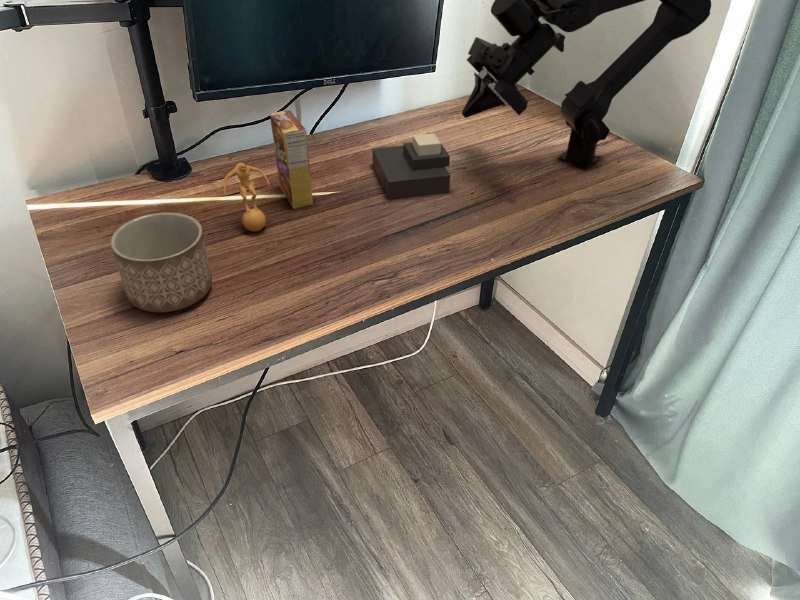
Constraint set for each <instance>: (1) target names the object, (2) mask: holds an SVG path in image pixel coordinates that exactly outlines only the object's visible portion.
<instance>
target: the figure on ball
mask: <svg viewBox="0 0 800 600" xmlns="http://www.w3.org/2000/svg"><path fill="white" fill-rule="evenodd" d="M251 172H258V173H259V174H260V175H261V177H262V178H263V179H264V180H266V183H267V184H268V186H269V187H270V186H271V183H270V179H268V177H267V176H266V175H265V174H264V173H263V171H262V170H261V168H258V167H255V166H252V165H246V163H243V162H238V163H236V165H235V166H234V168H233V169H232V170H231V171H230V172H229V173H228V174H226V175H225V176H224V179H223V191H222V195H223V197H225V198H227V195H228V193H227V191H226V190H227V187H228V179H230V178H232V177H233V176H235V175H236V177H237V178H238V180H239V181H240V183H239V184H238V185H237V188H238V191H239V194H240V196H241V198H242V202H243V204H244V207H245V212H244V213H243V215H242V219H241V220H242V225H243V227H244V228H245V229H246V230H248V231H250V232H259V231H261V230H262V229H263V228H264V227H265V226H266V222H267V219H266V216H265V213H264V212H263V211H262V210H260V209H259V208H258V206H257V204H256V201H255V200H256V198H257V195H258V194H257V191H256V188H255V186H254V185H255V184H254V182H253V181H252V180H251V181H249V180H250V175H251ZM247 190H248V191H247ZM248 192H249V193H250V194H252V195H251V197H250V198H251V203H252V207H253V208H250V207H249V205H248V202H247V201H248V199H247V194H248Z"/></svg>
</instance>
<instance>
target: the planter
mask: <svg viewBox="0 0 800 600" xmlns="http://www.w3.org/2000/svg"><path fill="white" fill-rule="evenodd" d="M110 247H111V250H112V253H113V254H112V255H113V256H114V261H115V263H116V266H117V270H118V274H119V276H120V279H121V282H122V286H123V289H124V292H125V295H126V298H127V300H128V301H129V302H130V304H132V305H133V306H134V307H135V308H137V309H139V310H142V311H145V312H150V313H167V312H168V313H169V312H174V311H180V310H183V309H186V308H188V307H190V306H193V305H195V304H196V303H197V302H199V301H200V300H202V299H203V298H204V297H205V296H206V295H207V293H209V291H210V289H211V287H212V283H213V277H212V272H211V267H210V262H209V257H208V253H207V247H206V243H205V237H204V232H203V228H202V225H201V223H200V222H199V220H197V219H195V218H194V217H192V216H190V215H187V214H183V213H181V212H180V213H179V212H156V213H150V214H146V215H142V216H138V217H136V218H133V219H131V220H129V221H127V222H125V223H124V224H123V225H121V226H120V227H119V228H118V229H117V230H115V231H114V233H113V235H112V236H111V239H110Z"/></svg>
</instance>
